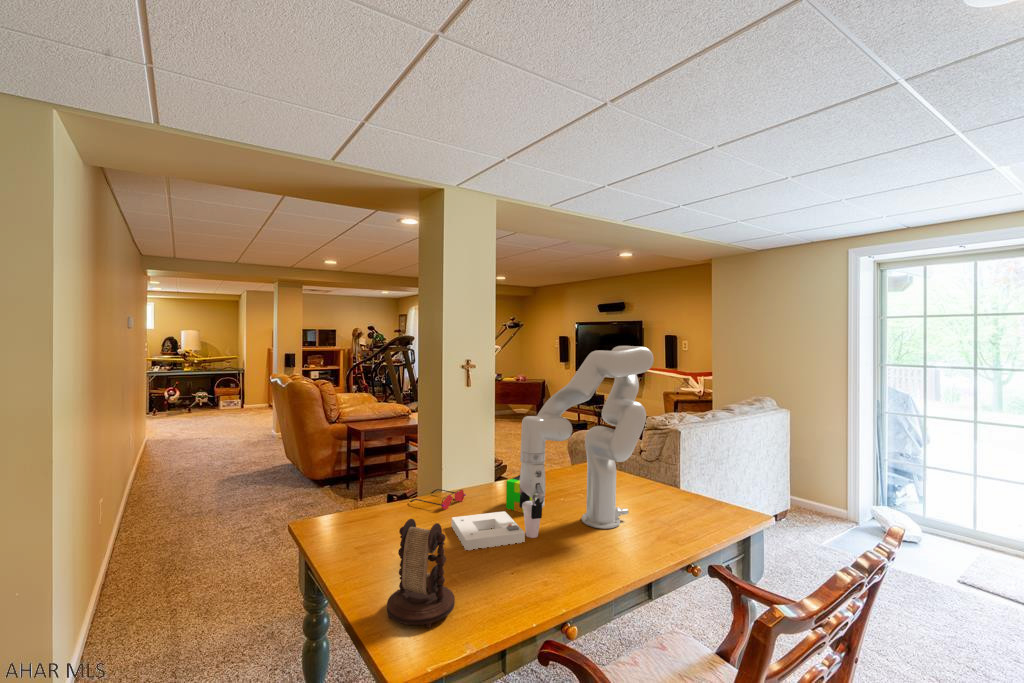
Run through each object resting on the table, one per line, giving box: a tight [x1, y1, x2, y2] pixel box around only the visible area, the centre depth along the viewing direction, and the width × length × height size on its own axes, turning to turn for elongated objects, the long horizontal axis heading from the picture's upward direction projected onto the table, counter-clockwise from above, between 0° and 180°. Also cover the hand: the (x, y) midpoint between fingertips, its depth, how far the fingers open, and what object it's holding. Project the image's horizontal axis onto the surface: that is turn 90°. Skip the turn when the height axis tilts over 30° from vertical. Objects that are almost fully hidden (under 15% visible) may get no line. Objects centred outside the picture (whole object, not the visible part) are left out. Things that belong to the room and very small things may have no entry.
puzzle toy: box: [505, 474, 546, 514], centre depth 172 cm, size 10×10×10 cm
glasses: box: [409, 488, 467, 510], centre depth 176 cm, size 14×16×5 cm
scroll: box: [386, 518, 456, 629], centre depth 106 cm, size 15×15×20 cm
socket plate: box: [451, 510, 526, 551], centre depth 148 cm, size 18×18×4 cm
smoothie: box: [522, 501, 544, 539], centre depth 148 cm, size 6×6×14 cm
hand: (530, 512), depth 148 cm, fingers open, 9 cm apart
